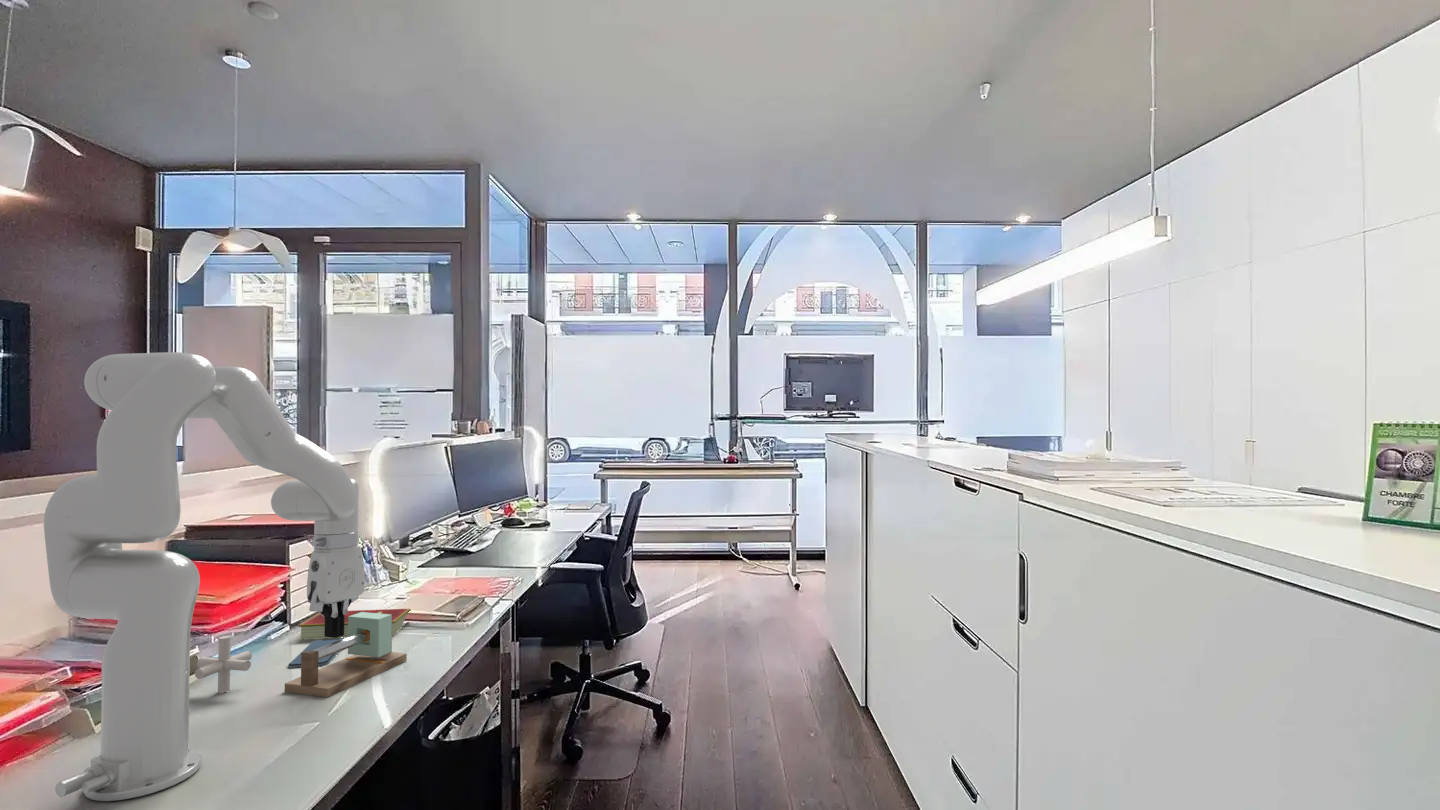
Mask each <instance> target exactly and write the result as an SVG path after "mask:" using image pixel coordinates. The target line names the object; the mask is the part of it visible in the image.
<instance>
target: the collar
mask: <svg viewBox="0 0 1440 810" xmlns="http://www.w3.org/2000/svg"><path fill="white" fill-rule="evenodd" d="M368 629H370V640H369V641H368V642H362V643H360V644H357V645H355V646H352V647H350V648H347V654H348V655H351V656H353V655H362V656H371V657H381V656H383V655H385V654H387V653H390V652H391V639H393V636H392V615H391V614H379V613H368V612H360V613H357V614H354V615H351V616H348V637H350V636H352V635H355V634H358V633H360V632H361V631H363V630H368Z"/></svg>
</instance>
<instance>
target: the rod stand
mask: <svg viewBox="0 0 1440 810" xmlns="http://www.w3.org/2000/svg"><path fill="white" fill-rule="evenodd" d="M392 639H393V638H392ZM392 639H391V652H390V653H387V654H385V655H383V656H381V657H371V656H362V655H351V656H348V657H345V658H344V659H341V660H339V661H336V662H334V663H331V664H327V665H325V666H322V667H321V668H319V666H318V660H319V659H322V658H324V657H327V656H329V655H332V654H334V653H337V652H339V651H341V652H342V651H344V650H348V648H350V647H352V646H355V645H357V644H360V643H362V642H368V641H369V640H370V629H368V630H363V631H361V632H360V633H358V634H355V635H352V636H350V637H347V638H344V639H342V640H339V641H336V642H334V643H331V644H328V645H326V646H323V647H320V648H318V649H315V650H307V651H304V652H302V651H301V652H300V653H301V668H300V676H299V677H297V678H294V679H293V680H290V681H289V680H288V681H287V682H285V683H284V693H285V692H286V693H293V694H299V695H300V694H302V695H308V696H315V697H316V696H317V697H322V698H329V697H332V696H334V695H335V694H338V693H340V692H342V691H344V690H346V689H349V688H351V687H353V686H355V685H357V684H360V683H361V682H364V681H366V680H368V679H371V678H372V677H375V676H377V675H378V674H381V673H383V672H385V671H388V670H389V669H392V668H394V667H396V666H398V665H401V664H403V663H405V662H407V661H408V660H407V656H408V654H407V653H405V652H396V651H392V650H393V648H392V647H393V644H392V643H393V642H392V641H393V640H392ZM406 660H407V661H406ZM404 661H405V662H404ZM402 662H403V663H402ZM400 663H401V664H400ZM393 666H394V667H393Z"/></svg>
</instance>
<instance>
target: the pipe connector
mask: <svg viewBox="0 0 1440 810" xmlns="http://www.w3.org/2000/svg"><path fill="white" fill-rule="evenodd" d="M231 639H232V638H231V635H222V636H220V637H218V656H217V657H208V656H207V657H205V656H202V657H200V658H199V659H198V661H197V667H198V668H197V669H196V670H195V671H194V677H195V678H196V679H198V680H201V679H203V678H207V677H209V676H211V675H214V674H216V673H217V694H225V693H224V692H226V693H228V692H227V691H229V690H230V691H231V671H242V672H247V671H249V670H250V668H251V665H252V663H251V659H252V656H253V655H252V653H251V651H249V650H246V651H243V652H241V653H238V654H234V655H232V656H231V645H232V644H231V643H232V642H231V641H232V640H231ZM230 691H229V692H230Z"/></svg>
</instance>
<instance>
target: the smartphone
mask: <svg viewBox="0 0 1440 810" xmlns="http://www.w3.org/2000/svg"><path fill="white" fill-rule="evenodd" d="M342 639H344V638H337V639H314V640H313V641H312V642H311V643H309V645H307V646H306V647H305V648H304V649H303V650H302V651H301V652H304V651H307V650H315V649H318V648H320V647H323V646H326V645H328V644H331V643H334V642H336V641H339V640H342ZM301 652H300V653H299V654H298V655H297V656H296V657H295V658H294V659H293V660H291V661H290V662H289V663H288V667H289V668H288V669H296V668H297V669H298V668H299V667H301ZM339 652H340V651H339ZM339 652H337V653H334V654H332V655H329V656H327V657H324V658H322V659H319V660H318V667H326V666H328V665H330V663H331V662H332V661H333V660H334V659H335V658H336V657H337V656H338V655H339V654H340V653H341V652H340V653H339ZM338 653H339V654H338ZM336 655H337V656H336Z"/></svg>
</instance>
